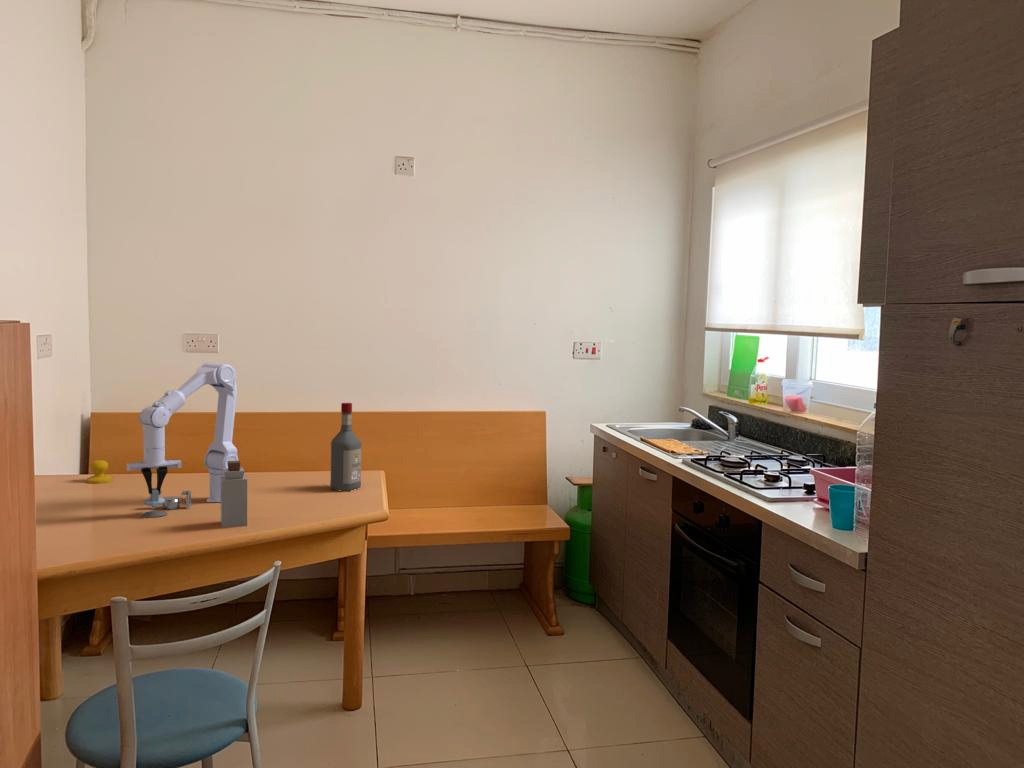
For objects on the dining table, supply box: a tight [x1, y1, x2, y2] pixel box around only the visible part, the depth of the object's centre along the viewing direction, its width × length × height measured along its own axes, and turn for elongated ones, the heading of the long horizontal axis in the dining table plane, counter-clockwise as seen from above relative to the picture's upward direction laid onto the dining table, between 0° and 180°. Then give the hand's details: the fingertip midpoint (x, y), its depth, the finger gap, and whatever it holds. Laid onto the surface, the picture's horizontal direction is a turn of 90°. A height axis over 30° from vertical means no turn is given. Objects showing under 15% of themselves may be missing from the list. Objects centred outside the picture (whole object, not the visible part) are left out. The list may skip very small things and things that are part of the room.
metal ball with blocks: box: [151, 490, 192, 511], centre depth 242 cm, size 11×5×5 cm, turn 101°
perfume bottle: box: [220, 460, 248, 529], centre depth 226 cm, size 7×7×18 cm
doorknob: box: [86, 459, 113, 485], centre depth 275 cm, size 8×8×8 cm
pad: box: [141, 510, 169, 519], centre depth 233 cm, size 7×7×1 cm
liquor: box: [329, 402, 362, 492], centre depth 274 cm, size 9×9×30 cm
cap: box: [143, 487, 165, 507], centre depth 233 cm, size 8×6×4 cm
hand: (154, 493), depth 233 cm, fingers closed on cap, 2 cm apart
